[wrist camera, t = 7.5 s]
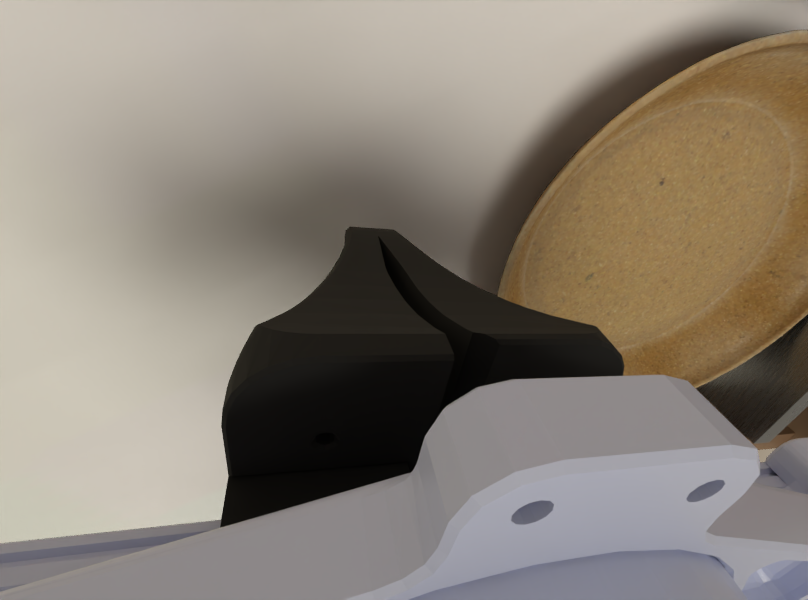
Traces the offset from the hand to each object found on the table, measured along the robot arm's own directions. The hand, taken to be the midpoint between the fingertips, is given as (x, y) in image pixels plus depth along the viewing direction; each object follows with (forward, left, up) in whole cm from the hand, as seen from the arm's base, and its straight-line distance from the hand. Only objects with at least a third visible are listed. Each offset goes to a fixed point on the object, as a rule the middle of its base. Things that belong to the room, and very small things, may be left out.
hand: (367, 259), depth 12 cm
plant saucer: (0, -12, -2) cm, 12 cm away
